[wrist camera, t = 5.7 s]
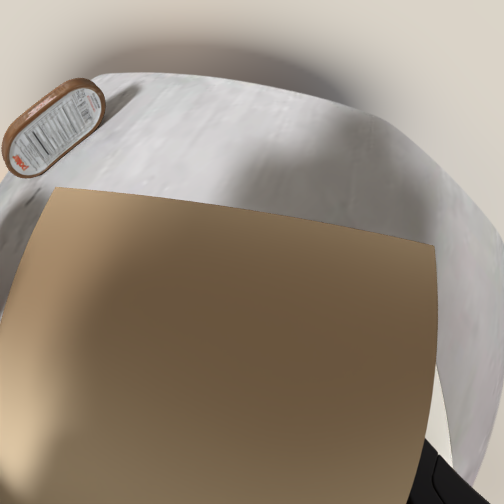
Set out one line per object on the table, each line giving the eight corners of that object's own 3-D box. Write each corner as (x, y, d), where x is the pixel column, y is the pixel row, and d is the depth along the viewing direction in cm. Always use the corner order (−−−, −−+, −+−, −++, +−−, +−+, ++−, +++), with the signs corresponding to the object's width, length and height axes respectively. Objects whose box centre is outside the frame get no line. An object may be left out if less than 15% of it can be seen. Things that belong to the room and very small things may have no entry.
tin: (107, 112, 32) (87, 64, 24) (116, 119, 31) (95, 68, 23) (22, 182, 28) (-11, 142, 20) (27, 194, 27) (-9, 152, 19)
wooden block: (283, 460, 11) (347, 614, 1) (162, 433, 11) (-11, 498, 1) (306, 345, 13) (434, 245, 3) (187, 322, 14) (55, 186, 4)
